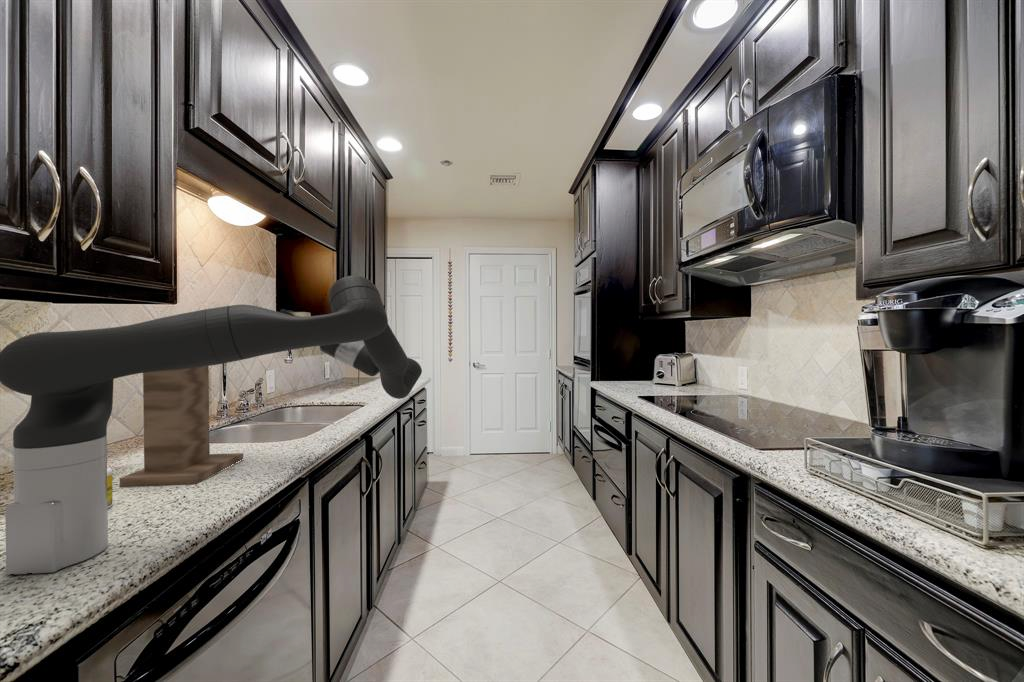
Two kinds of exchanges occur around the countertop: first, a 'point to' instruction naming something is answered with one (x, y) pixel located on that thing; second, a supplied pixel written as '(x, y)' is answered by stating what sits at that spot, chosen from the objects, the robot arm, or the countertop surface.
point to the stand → (177, 430)
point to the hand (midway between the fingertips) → (283, 312)
